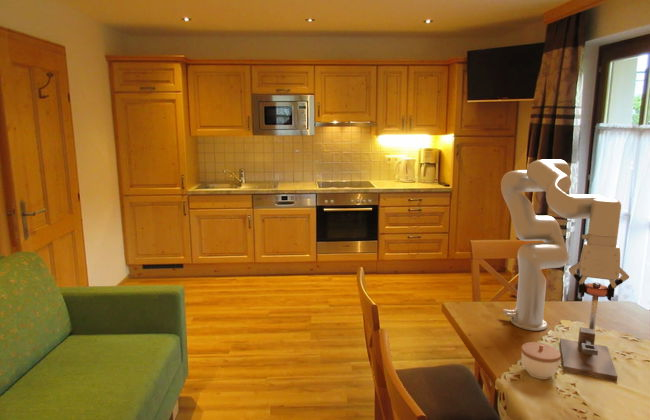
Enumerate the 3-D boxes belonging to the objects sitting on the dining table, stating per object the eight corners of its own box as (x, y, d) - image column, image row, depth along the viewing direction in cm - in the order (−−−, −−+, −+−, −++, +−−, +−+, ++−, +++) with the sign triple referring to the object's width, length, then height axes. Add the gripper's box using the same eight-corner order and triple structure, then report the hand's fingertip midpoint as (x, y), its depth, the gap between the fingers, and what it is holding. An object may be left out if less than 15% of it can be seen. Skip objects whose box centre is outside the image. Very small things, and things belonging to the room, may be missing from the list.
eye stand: (563, 370, 137) (566, 345, 136) (559, 342, 155) (562, 319, 154) (617, 381, 132) (620, 354, 130) (606, 350, 150) (609, 326, 148)
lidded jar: (556, 387, 128) (559, 357, 127) (516, 376, 134) (519, 347, 132) (560, 370, 137) (562, 342, 136) (522, 361, 143) (524, 334, 141)
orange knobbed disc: (580, 330, 136) (585, 285, 133) (578, 322, 142) (583, 279, 139) (605, 334, 133) (610, 288, 131) (602, 326, 139) (607, 281, 136)
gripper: (569, 240, 133) (564, 297, 136) (639, 246, 126) (631, 306, 129) (568, 234, 139) (562, 289, 143) (633, 240, 132) (626, 297, 136)
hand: (595, 296), depth 136 cm, fingers closed on orange knobbed disc, 6 cm apart
